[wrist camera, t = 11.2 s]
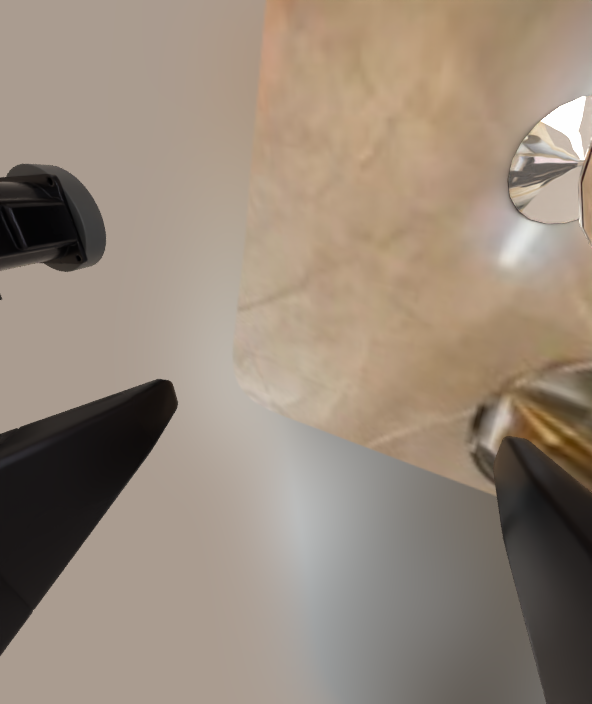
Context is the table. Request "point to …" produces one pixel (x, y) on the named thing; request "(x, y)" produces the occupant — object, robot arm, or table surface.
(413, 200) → the table surface
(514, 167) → the wineglass
